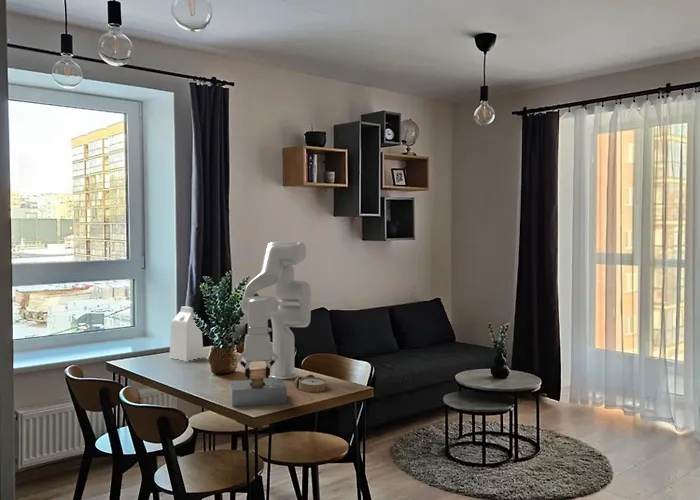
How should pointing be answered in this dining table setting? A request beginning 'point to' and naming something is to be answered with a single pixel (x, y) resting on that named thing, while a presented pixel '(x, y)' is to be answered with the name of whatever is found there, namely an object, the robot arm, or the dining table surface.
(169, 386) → the dining table surface
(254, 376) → the peg
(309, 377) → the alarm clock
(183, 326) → the milk
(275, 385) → the hitch block
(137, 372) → the dining table surface
